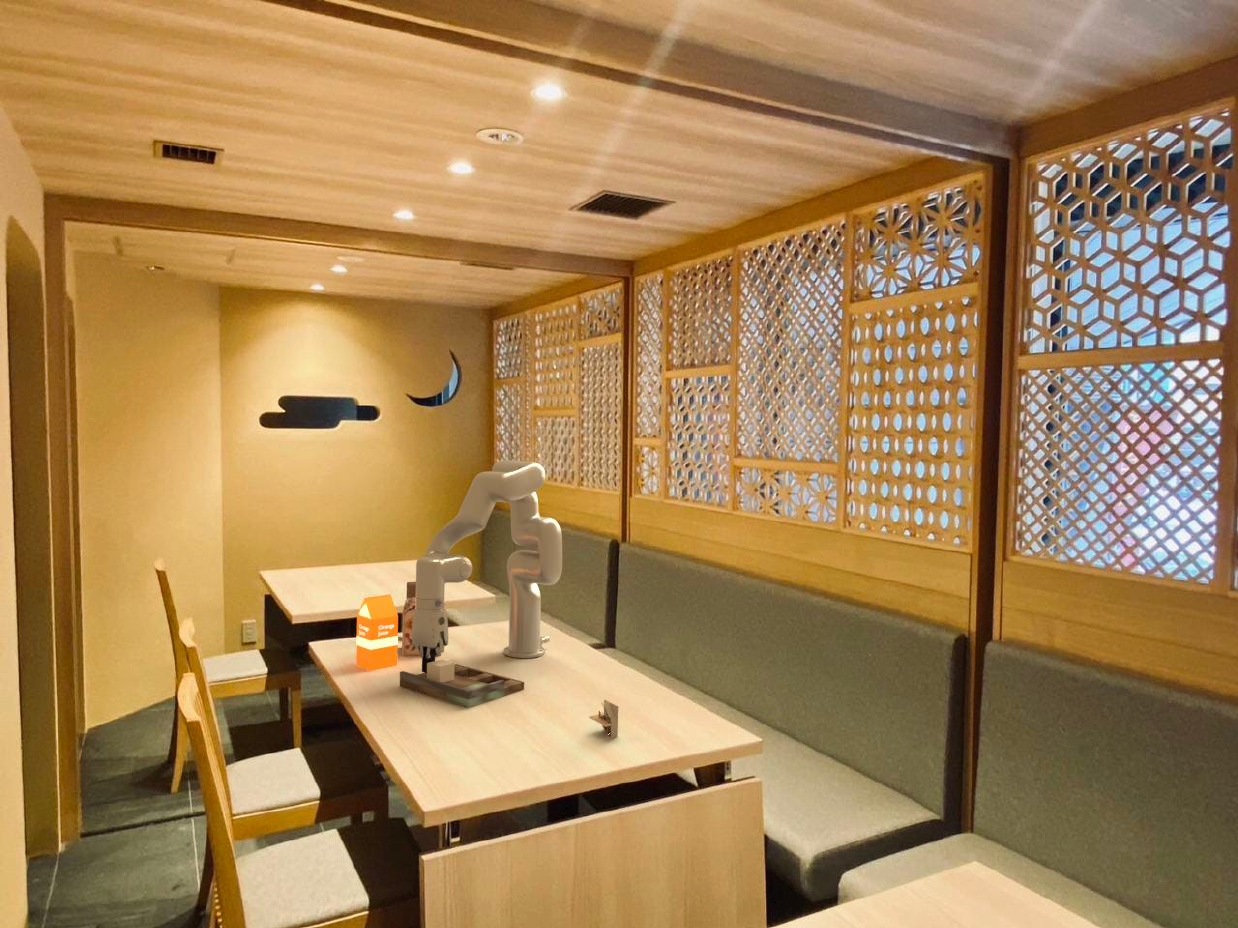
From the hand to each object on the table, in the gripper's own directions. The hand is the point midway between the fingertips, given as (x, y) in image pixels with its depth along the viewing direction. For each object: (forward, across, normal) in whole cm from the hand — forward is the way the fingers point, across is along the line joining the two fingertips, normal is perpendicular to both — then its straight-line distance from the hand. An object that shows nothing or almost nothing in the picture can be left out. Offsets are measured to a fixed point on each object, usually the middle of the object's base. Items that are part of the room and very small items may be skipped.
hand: (428, 671), depth 236 cm
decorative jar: (+3, +27, -21) cm, 34 cm away
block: (+1, -5, 0) cm, 5 cm away
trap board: (+3, -10, -3) cm, 11 cm away
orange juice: (+4, +24, -2) cm, 25 cm away
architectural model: (+4, -60, -2) cm, 60 cm away
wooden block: (+3, +41, -32) cm, 52 cm away
